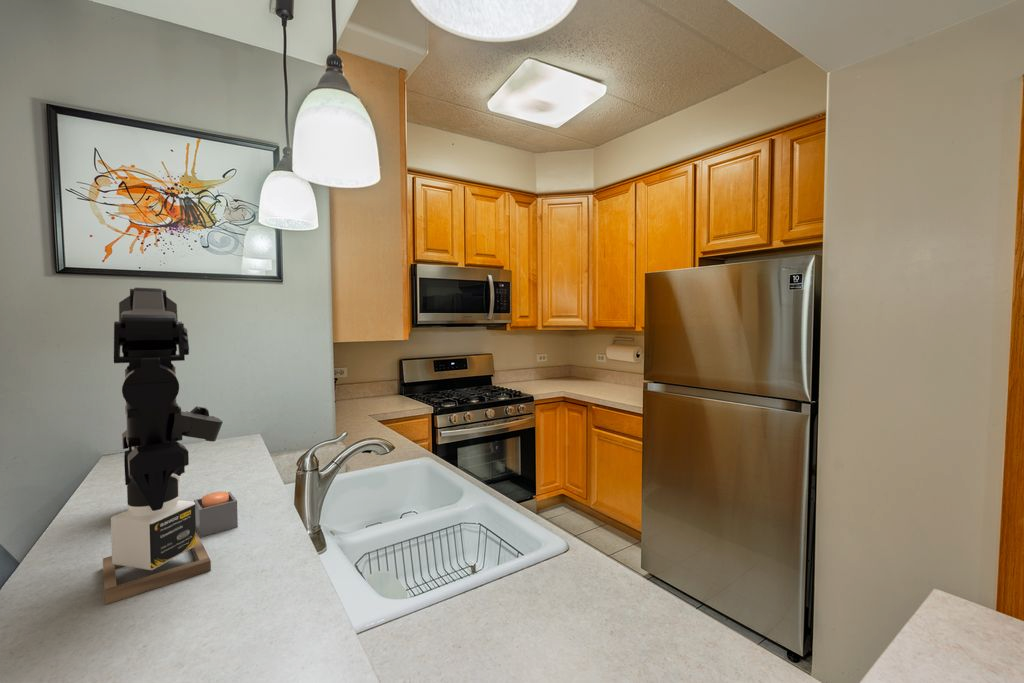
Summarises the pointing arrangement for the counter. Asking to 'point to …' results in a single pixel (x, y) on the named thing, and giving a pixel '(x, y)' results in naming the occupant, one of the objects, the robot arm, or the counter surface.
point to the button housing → (216, 517)
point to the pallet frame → (154, 580)
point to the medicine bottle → (153, 529)
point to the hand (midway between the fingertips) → (154, 502)
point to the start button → (215, 499)
